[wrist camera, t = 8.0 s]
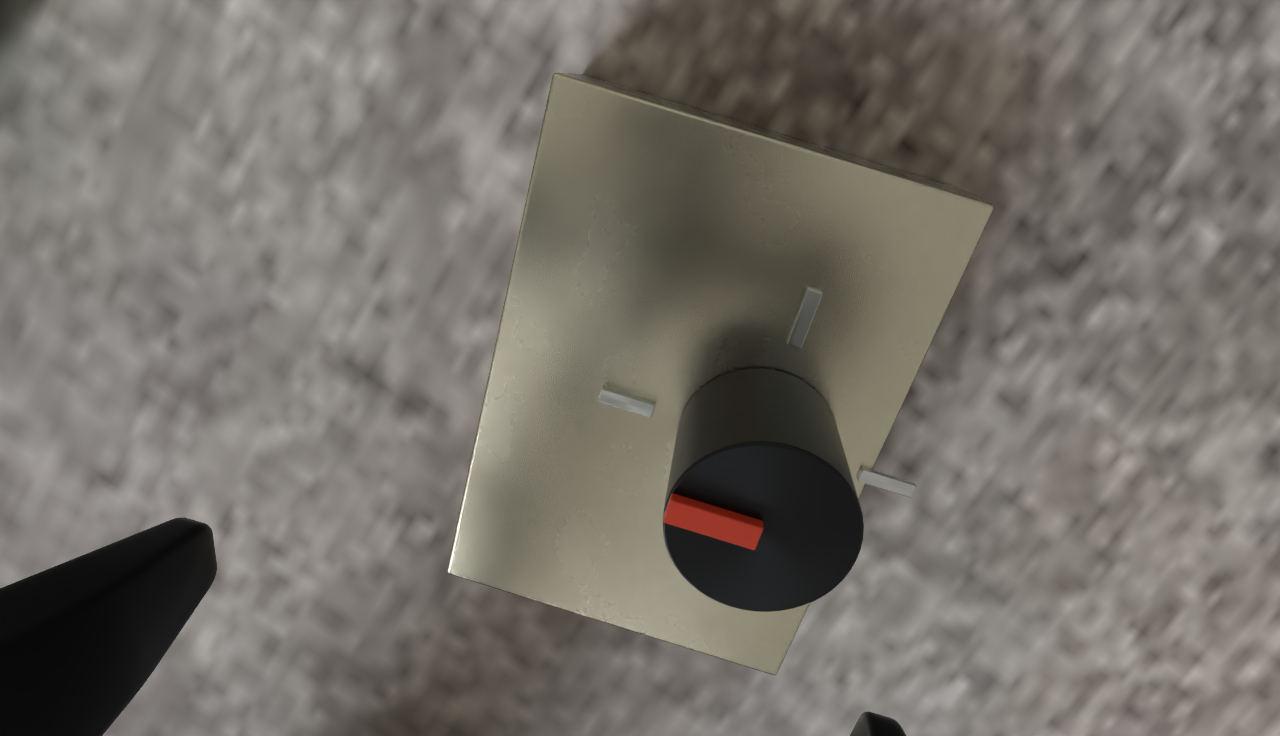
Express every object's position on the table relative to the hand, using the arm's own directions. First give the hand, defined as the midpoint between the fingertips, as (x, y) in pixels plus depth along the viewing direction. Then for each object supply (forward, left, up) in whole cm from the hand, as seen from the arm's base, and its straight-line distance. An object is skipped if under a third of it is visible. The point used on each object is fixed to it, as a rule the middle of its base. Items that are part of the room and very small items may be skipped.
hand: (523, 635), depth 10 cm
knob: (-1, -4, -9) cm, 10 cm away
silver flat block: (-1, -2, -12) cm, 12 cm away
